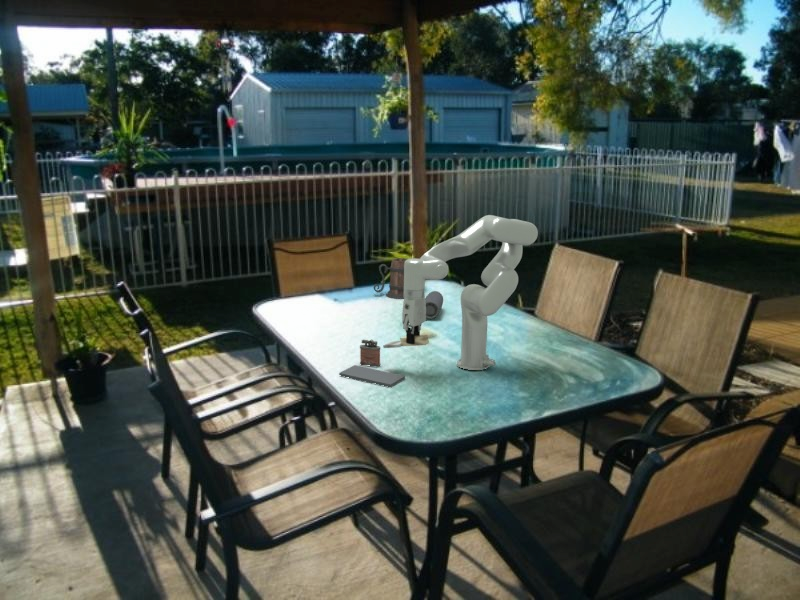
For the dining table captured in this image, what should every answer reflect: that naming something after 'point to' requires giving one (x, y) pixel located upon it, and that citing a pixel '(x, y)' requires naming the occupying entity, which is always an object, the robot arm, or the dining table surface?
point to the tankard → (394, 279)
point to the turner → (418, 341)
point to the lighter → (370, 353)
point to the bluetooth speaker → (433, 304)
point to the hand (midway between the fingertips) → (412, 341)
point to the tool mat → (372, 375)
